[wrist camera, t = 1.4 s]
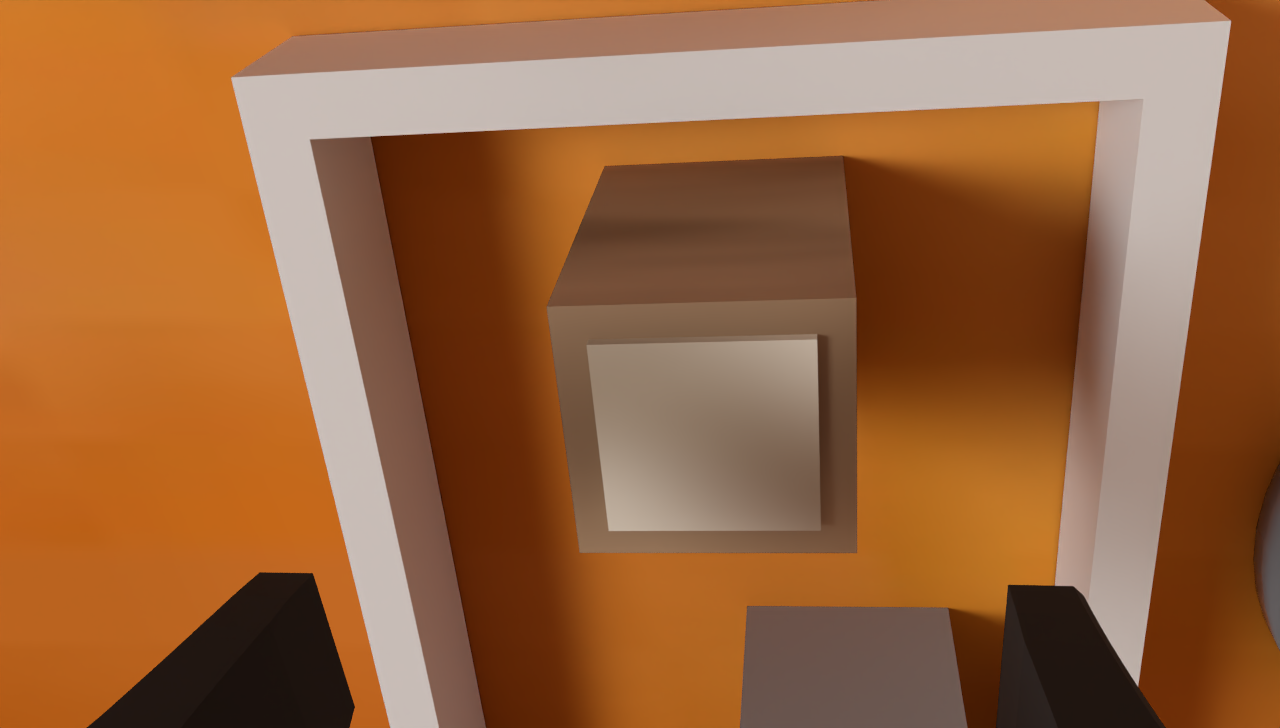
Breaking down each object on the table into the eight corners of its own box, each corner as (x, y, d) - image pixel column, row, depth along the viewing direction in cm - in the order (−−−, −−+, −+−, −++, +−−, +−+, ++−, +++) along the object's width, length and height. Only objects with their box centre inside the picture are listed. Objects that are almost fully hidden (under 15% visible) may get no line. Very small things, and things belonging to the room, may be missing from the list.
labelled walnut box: (844, 367, 22) (858, 559, 17) (625, 372, 23) (578, 558, 18) (842, 155, 20) (856, 302, 15) (604, 165, 21) (544, 311, 16)
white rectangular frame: (1080, 825, 27) (1104, 925, 25) (460, 805, 29) (431, 896, 27) (1180, -19, 18) (1231, 20, 16) (292, 36, 20) (231, 77, 18)
